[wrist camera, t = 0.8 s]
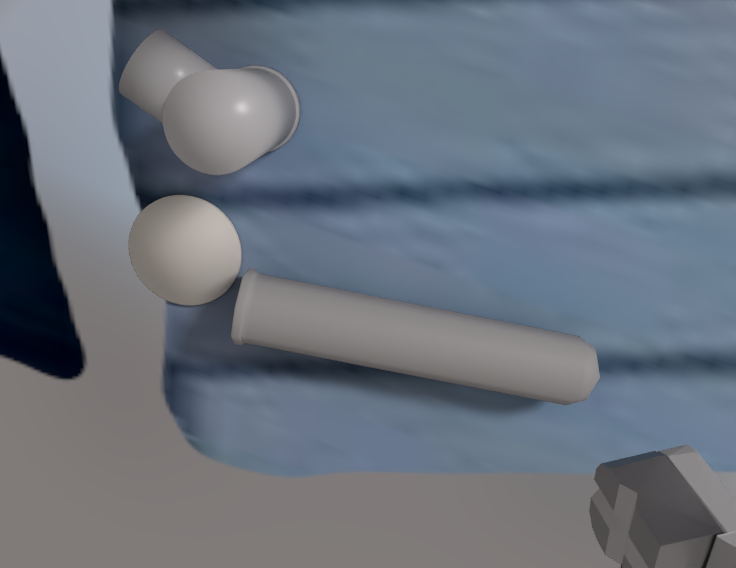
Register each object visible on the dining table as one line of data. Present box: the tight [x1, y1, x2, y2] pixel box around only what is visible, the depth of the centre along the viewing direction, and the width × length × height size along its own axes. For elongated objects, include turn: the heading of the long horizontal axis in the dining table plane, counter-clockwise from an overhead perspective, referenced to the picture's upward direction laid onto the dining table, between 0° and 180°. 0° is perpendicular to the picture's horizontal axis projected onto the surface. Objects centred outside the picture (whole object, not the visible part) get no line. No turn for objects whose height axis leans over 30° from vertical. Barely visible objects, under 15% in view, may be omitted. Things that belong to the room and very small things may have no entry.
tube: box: [231, 268, 600, 405], centre depth 47 cm, size 5×5×25 cm
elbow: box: [119, 30, 300, 175], centre depth 40 cm, size 8×6×11 cm
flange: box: [129, 195, 242, 305], centre depth 48 cm, size 8×8×1 cm
